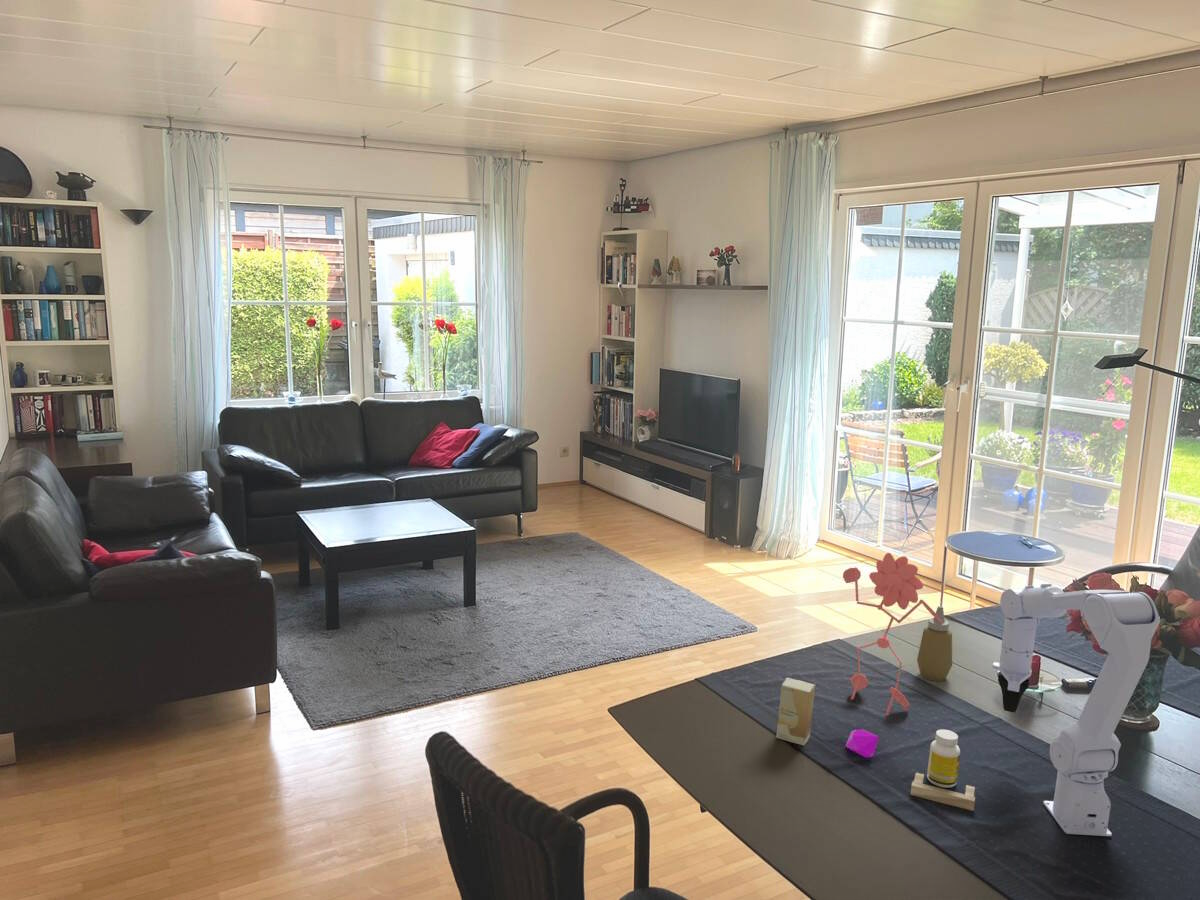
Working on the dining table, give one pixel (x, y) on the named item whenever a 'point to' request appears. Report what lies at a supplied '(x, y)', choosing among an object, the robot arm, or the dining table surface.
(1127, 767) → the dining table surface
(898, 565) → the figurine
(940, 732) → the supplement bottle
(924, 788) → the u rest
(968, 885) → the dining table surface
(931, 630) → the squeeze bottle
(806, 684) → the skincare box
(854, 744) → the crystal
